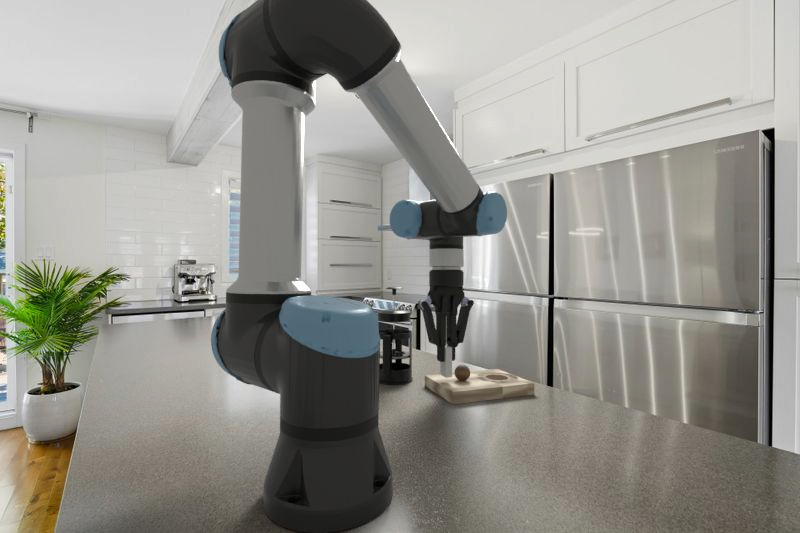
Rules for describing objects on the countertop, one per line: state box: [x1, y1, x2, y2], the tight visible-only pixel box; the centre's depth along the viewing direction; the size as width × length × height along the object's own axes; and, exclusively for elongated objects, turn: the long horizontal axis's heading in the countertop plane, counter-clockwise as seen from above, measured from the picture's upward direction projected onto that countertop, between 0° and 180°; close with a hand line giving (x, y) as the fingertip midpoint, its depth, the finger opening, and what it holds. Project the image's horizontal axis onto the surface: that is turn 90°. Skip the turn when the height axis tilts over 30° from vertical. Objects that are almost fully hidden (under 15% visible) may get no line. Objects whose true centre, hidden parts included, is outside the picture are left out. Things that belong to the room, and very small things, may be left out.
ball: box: [453, 364, 471, 381], centre depth 92 cm, size 4×4×4 cm
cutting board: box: [424, 368, 535, 405], centre depth 94 cm, size 14×20×2 cm
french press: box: [375, 286, 414, 386], centre depth 102 cm, size 12×9×23 cm
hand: (446, 375), depth 91 cm, fingers closed
